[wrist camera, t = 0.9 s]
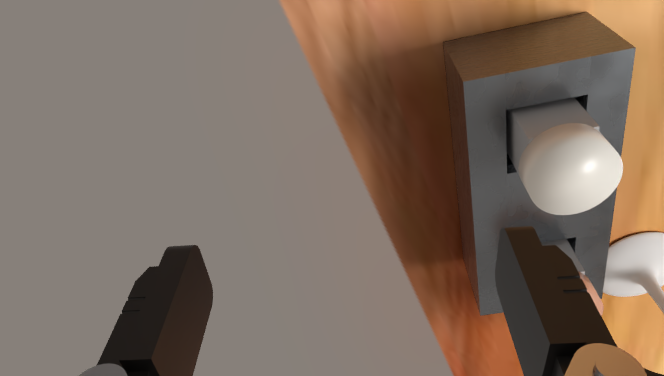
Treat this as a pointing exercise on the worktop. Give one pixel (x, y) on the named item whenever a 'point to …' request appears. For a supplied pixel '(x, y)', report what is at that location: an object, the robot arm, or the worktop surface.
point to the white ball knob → (561, 156)
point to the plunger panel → (490, 133)
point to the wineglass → (636, 267)
